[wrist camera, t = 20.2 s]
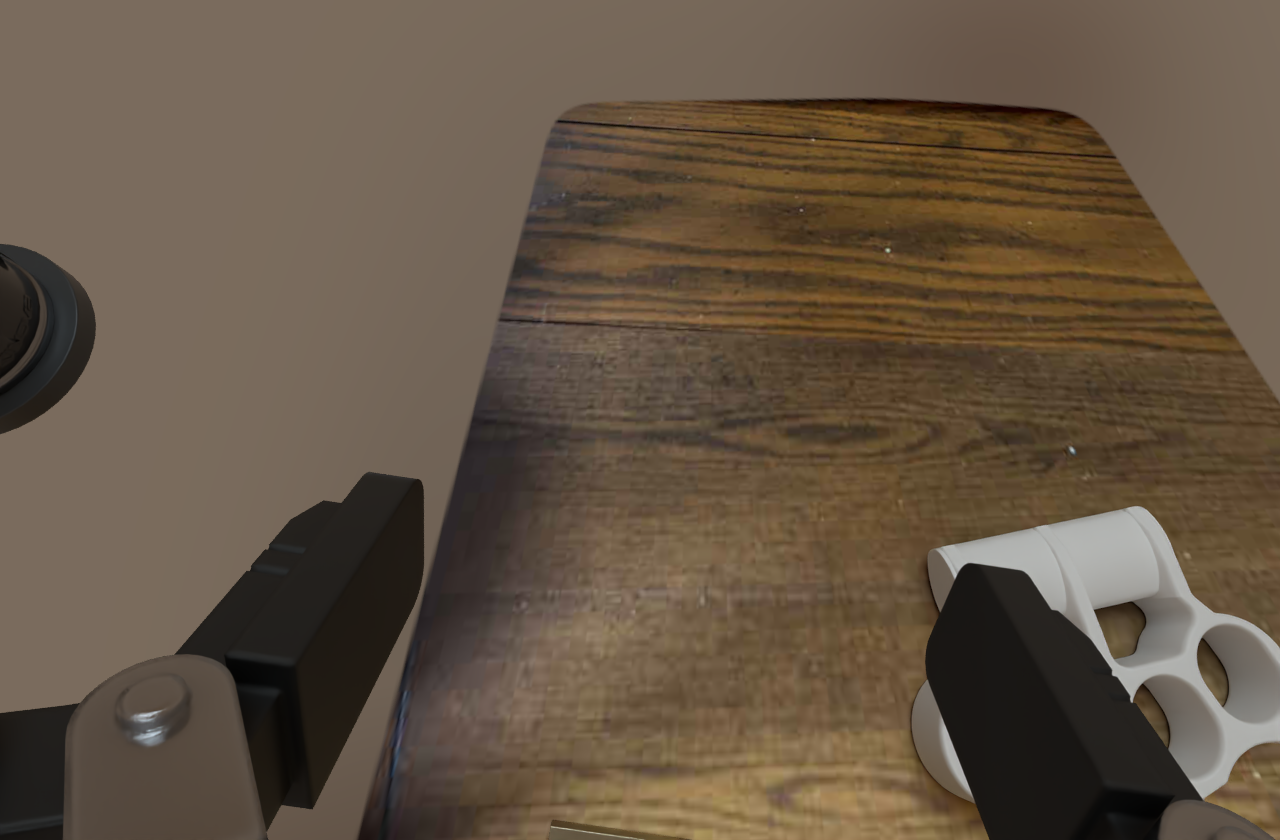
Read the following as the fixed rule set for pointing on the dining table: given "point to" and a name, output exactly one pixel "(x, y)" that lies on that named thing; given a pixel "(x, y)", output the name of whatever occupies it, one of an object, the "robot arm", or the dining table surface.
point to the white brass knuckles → (1167, 648)
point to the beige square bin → (597, 833)
